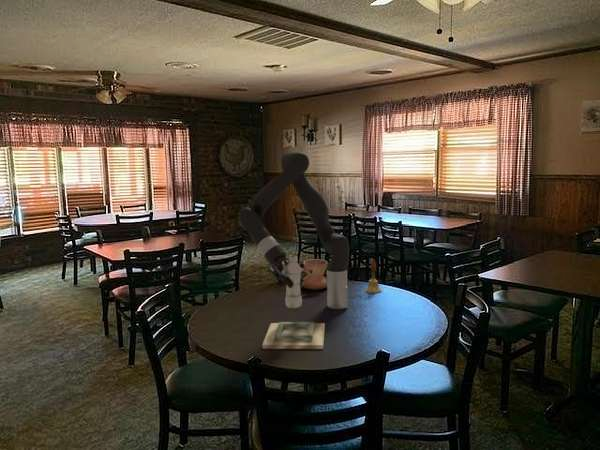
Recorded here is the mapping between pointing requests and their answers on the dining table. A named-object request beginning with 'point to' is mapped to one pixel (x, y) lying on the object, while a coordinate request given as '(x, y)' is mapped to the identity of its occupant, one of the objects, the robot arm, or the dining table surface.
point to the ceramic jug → (315, 274)
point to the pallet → (294, 343)
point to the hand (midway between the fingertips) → (297, 284)
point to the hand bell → (373, 281)
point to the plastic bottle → (294, 274)
